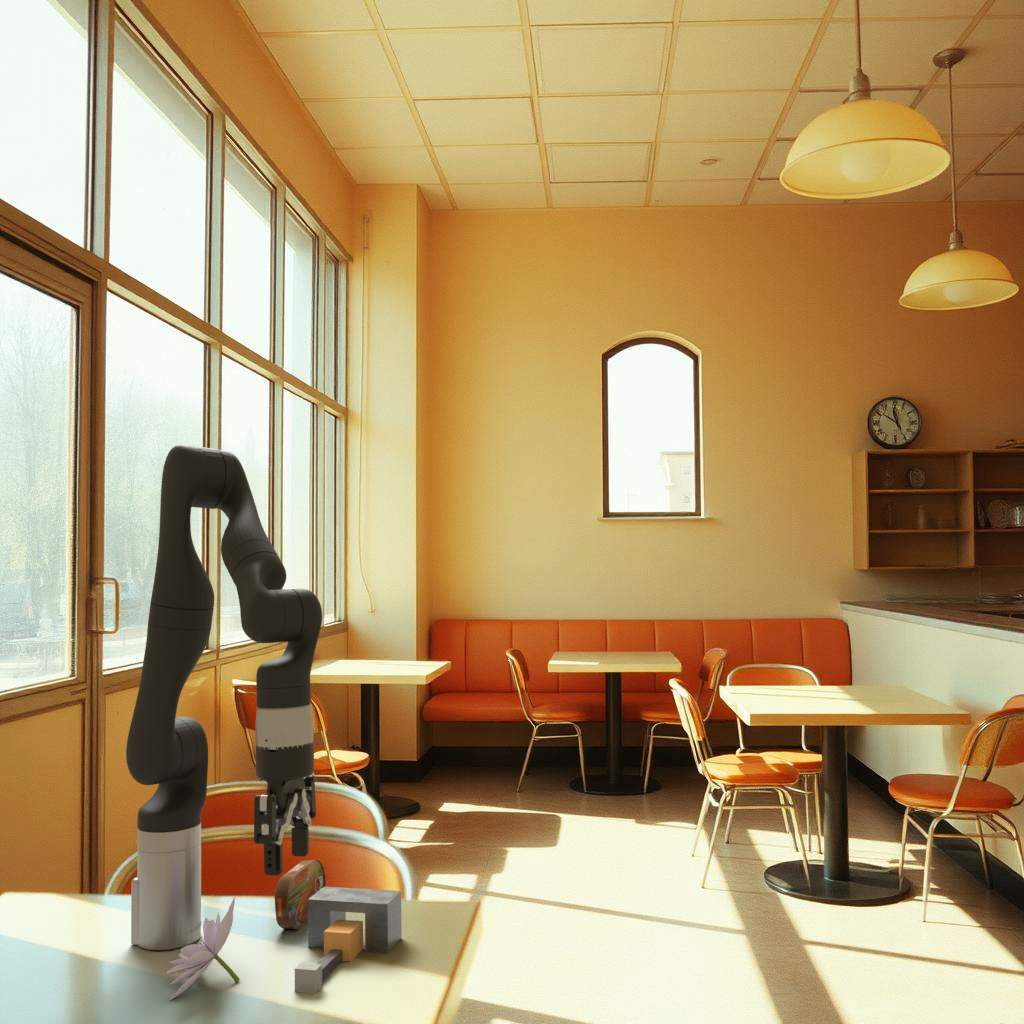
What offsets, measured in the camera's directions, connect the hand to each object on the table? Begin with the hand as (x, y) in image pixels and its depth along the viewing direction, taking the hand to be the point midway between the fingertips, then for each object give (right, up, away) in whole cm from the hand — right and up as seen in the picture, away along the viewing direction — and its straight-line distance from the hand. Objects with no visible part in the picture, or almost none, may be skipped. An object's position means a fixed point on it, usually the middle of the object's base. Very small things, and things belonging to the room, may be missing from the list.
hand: (287, 864), depth 132 cm
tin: (-4, -19, +29) cm, 35 cm away
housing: (+6, -18, +18) cm, 27 cm away
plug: (+4, -18, +9) cm, 20 cm away
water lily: (-13, -18, +5) cm, 23 cm away
